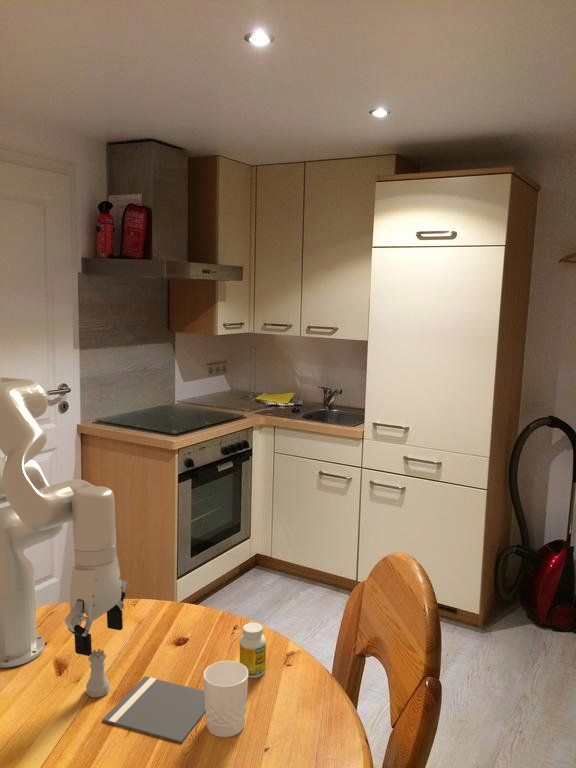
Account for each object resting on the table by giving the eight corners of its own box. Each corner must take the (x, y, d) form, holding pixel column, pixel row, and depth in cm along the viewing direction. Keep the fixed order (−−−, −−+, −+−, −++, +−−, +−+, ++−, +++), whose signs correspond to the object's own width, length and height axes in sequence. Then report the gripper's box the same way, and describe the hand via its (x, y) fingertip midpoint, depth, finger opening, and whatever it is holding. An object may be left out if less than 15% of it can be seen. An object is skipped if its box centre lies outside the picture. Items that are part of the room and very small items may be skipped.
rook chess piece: (103, 700, 121) (102, 660, 119) (81, 696, 121) (80, 657, 120) (114, 686, 125) (113, 648, 124) (93, 683, 126) (92, 645, 125)
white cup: (207, 743, 109) (207, 689, 108) (200, 714, 117) (200, 663, 116) (252, 735, 112) (252, 682, 110) (242, 707, 119) (243, 657, 118)
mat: (102, 721, 115) (102, 718, 115) (144, 678, 128) (144, 675, 128) (181, 743, 109) (181, 740, 109) (217, 696, 122) (217, 693, 122)
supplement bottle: (248, 661, 134) (248, 618, 133) (270, 668, 132) (271, 624, 131) (234, 674, 130) (234, 629, 128) (256, 682, 127) (257, 636, 126)
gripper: (106, 536, 129) (110, 617, 131) (47, 569, 112) (52, 661, 114) (139, 540, 126) (142, 622, 128) (83, 574, 110) (87, 668, 112)
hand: (100, 640), depth 121 cm, fingers open, 9 cm apart
